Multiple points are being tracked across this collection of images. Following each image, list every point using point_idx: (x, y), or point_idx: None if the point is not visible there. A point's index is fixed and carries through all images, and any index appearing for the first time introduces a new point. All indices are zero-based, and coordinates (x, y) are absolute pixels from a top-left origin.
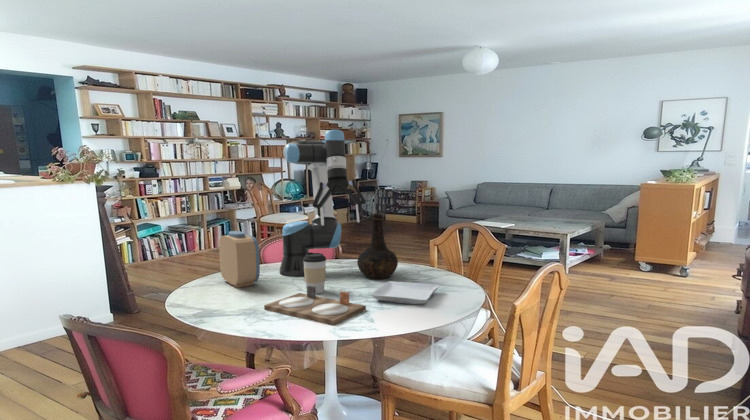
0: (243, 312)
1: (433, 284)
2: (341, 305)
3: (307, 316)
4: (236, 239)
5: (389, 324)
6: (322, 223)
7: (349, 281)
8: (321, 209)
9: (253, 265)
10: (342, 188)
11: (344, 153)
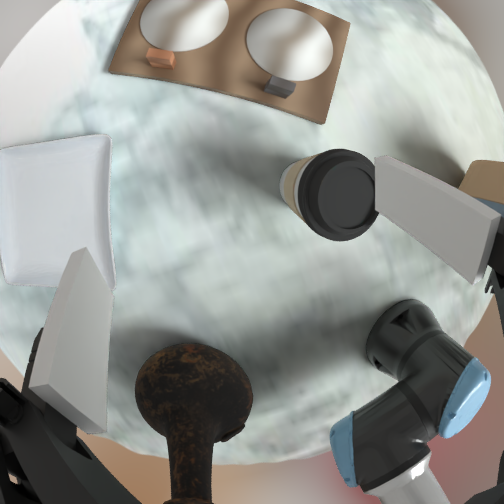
0: (371, 11)
1: (15, 284)
2: (164, 43)
3: None
4: None
5: (54, 26)
6: (382, 158)
7: (248, 310)
8: (478, 207)
9: (478, 191)
10: None
11: None
